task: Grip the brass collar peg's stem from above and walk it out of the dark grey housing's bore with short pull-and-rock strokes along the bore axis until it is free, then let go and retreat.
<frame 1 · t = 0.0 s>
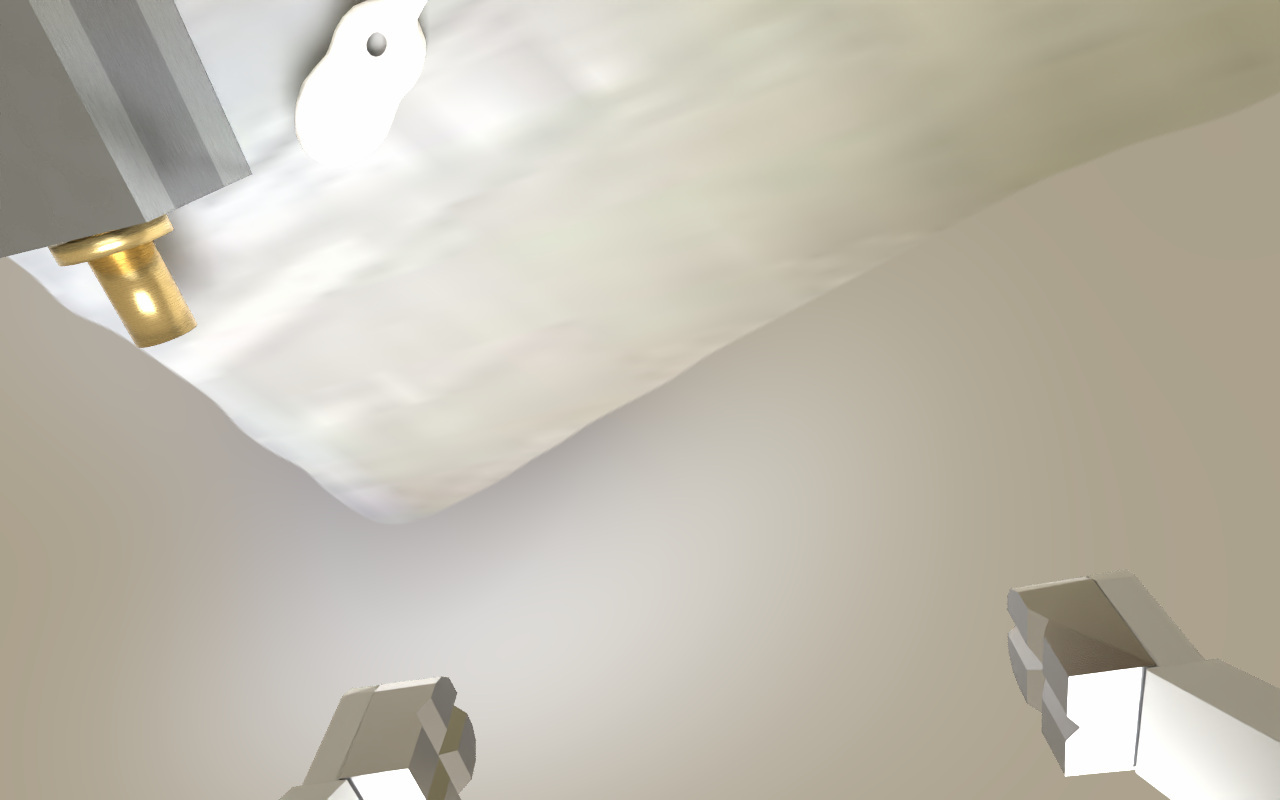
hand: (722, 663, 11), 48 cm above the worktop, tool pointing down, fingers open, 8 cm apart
housing: (121, 110, 54), on the worktop
brass collar peg: (108, 230, 51), point 7 cm above the worktop, slide at 0.0 cm
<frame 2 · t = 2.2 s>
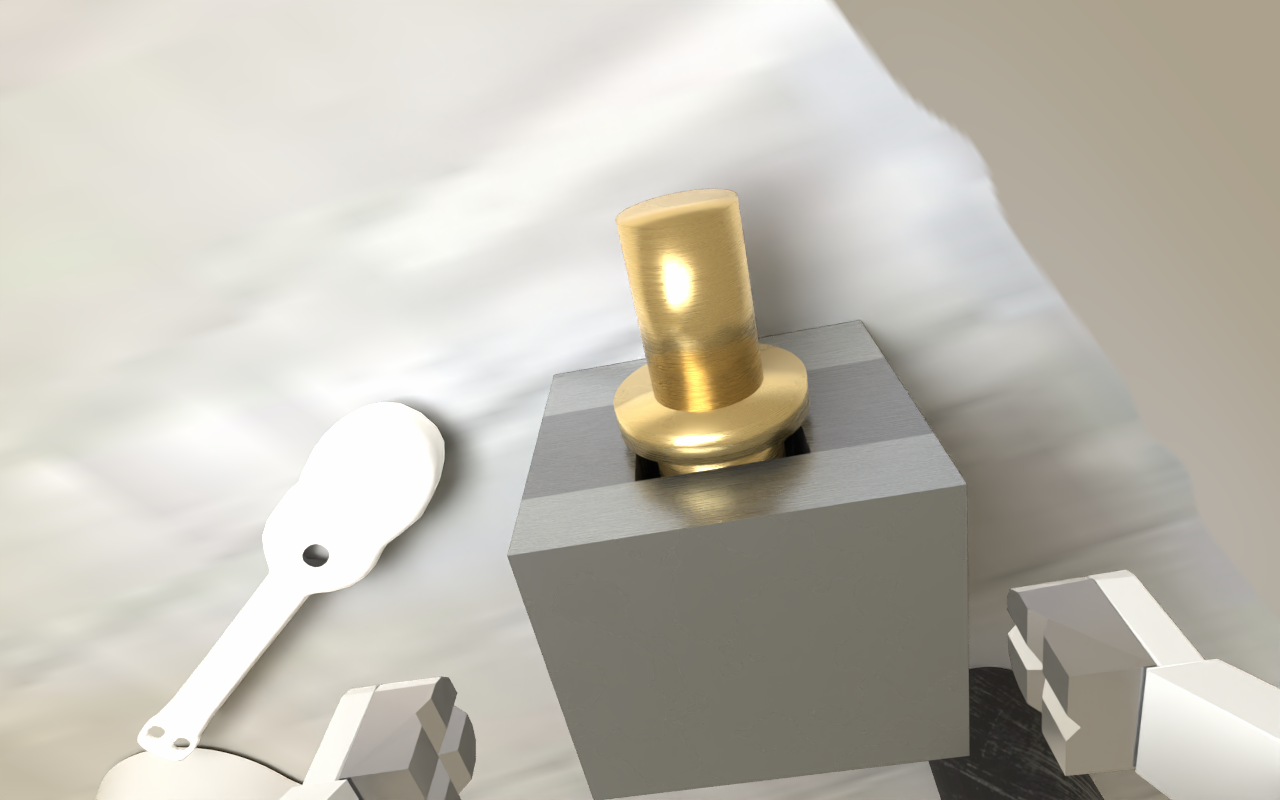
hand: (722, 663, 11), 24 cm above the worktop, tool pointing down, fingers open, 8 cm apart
spatula: (290, 576, 42), on the worktop
housing: (723, 459, 38), on the worktop
travel mug: (975, 707, 46), on the worktop
brass collar peg: (712, 410, 28), point 7 cm above the worktop, slide at 0.0 cm
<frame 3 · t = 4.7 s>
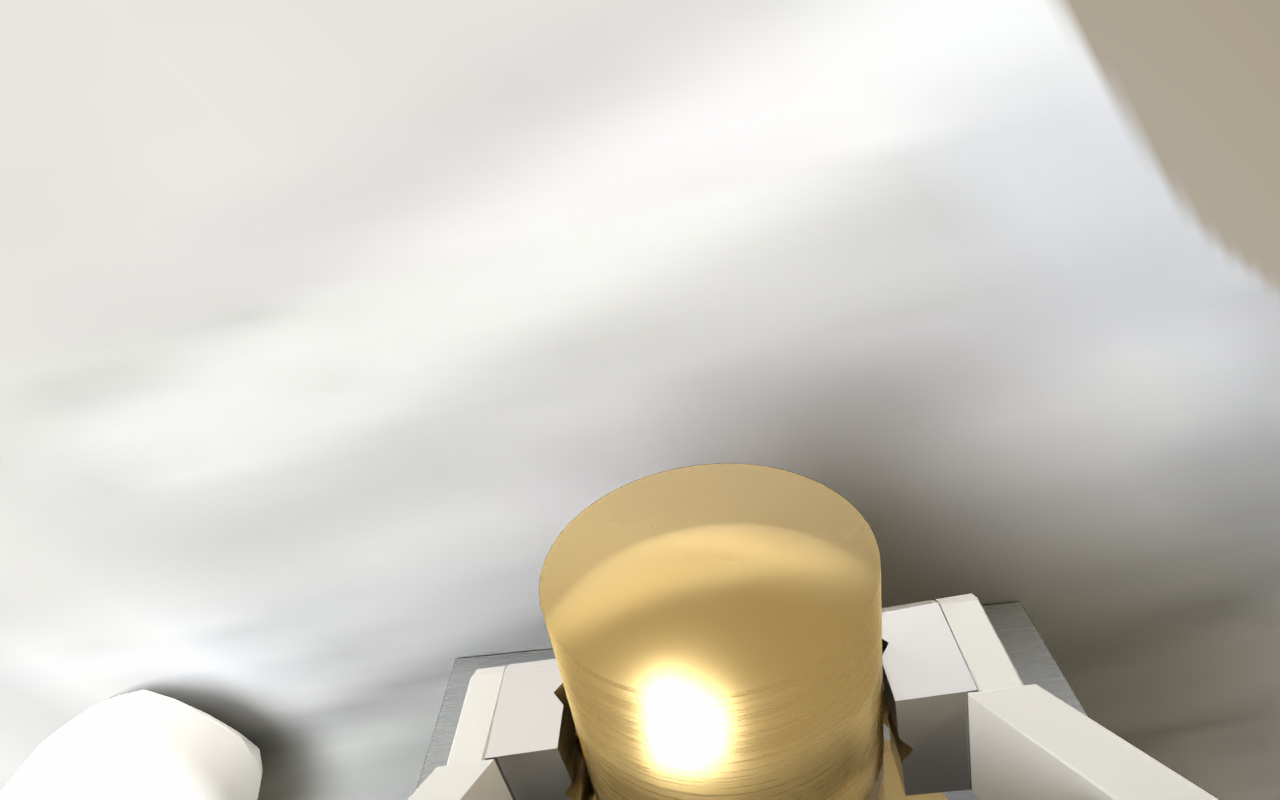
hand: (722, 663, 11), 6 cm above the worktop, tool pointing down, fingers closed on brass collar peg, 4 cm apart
housing: (750, 786, 22), on the worktop
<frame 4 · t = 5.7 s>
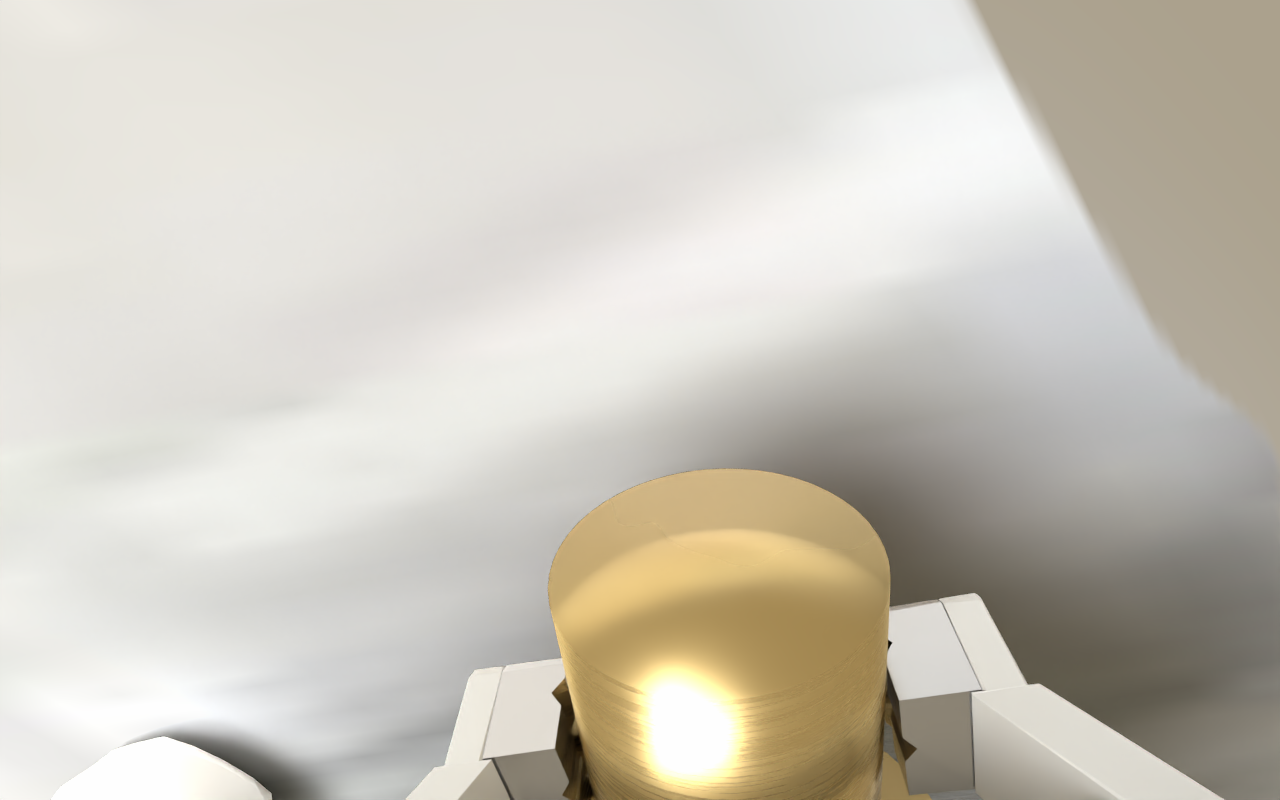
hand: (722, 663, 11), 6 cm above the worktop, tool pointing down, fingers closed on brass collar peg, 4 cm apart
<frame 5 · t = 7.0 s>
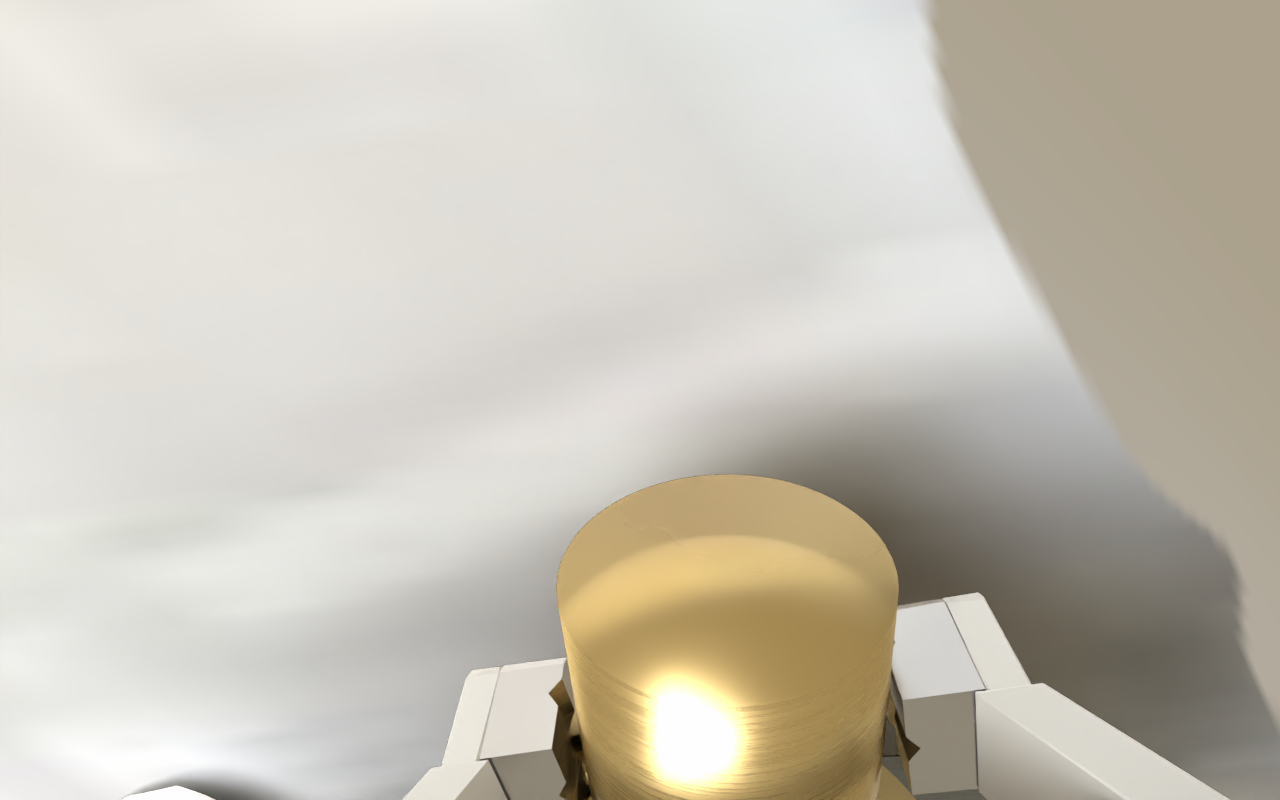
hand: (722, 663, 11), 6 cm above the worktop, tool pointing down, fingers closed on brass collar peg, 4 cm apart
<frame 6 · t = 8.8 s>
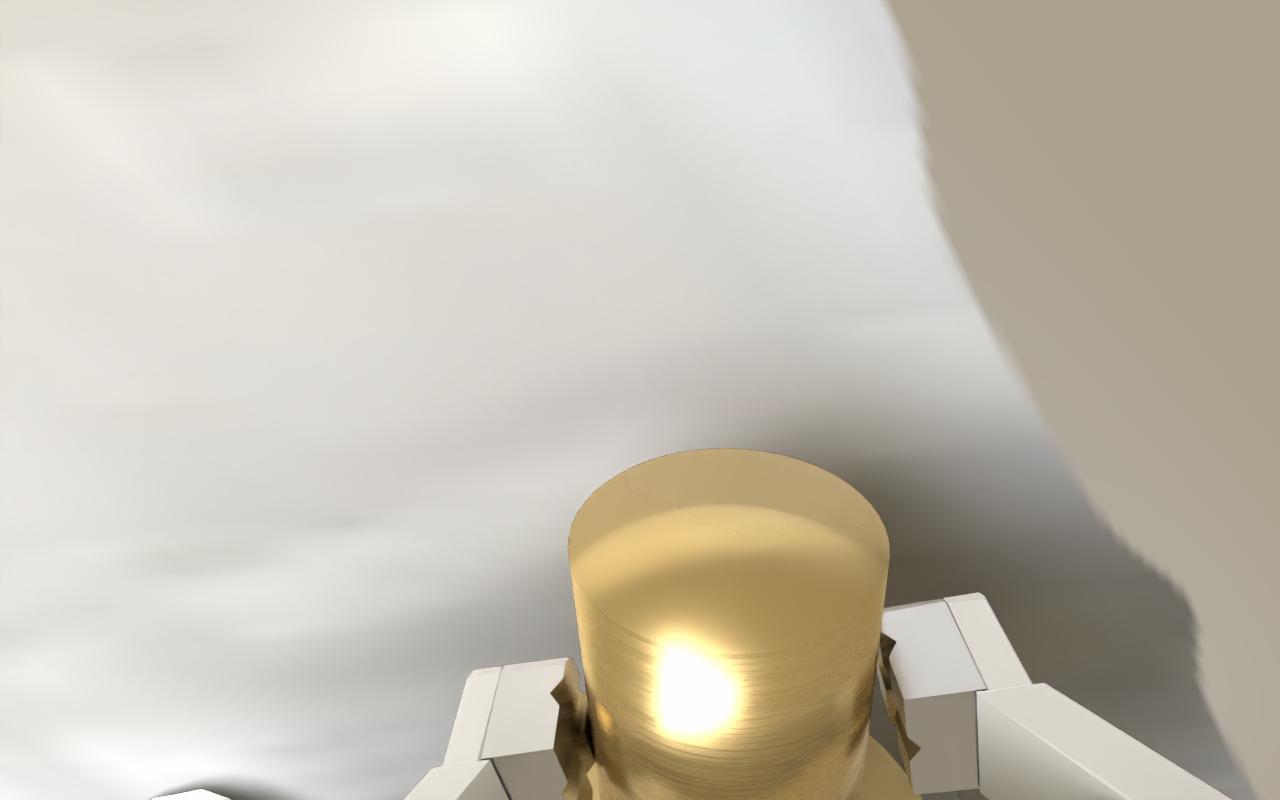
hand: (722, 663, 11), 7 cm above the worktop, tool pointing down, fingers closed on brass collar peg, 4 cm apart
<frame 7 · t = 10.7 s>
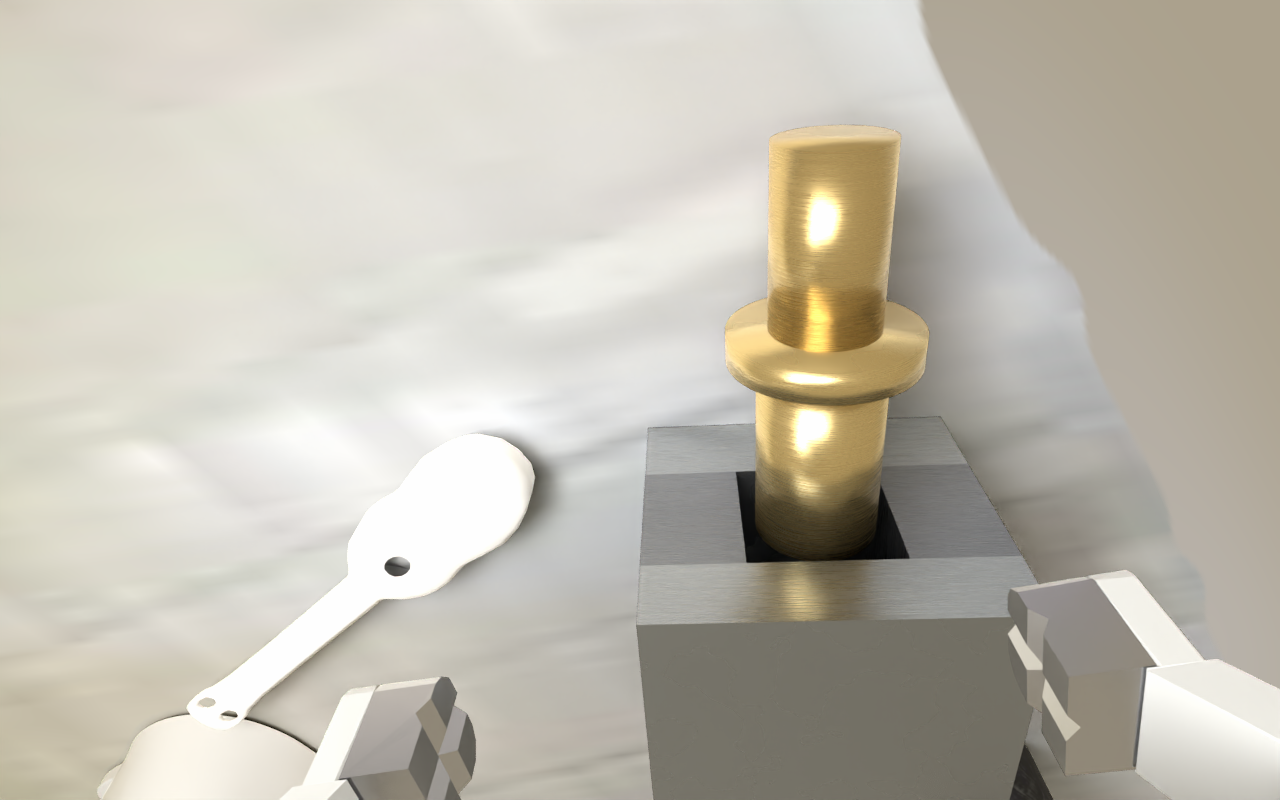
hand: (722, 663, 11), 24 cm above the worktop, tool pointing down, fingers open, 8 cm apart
spatula: (357, 573, 44), on the worktop
housing: (789, 520, 40), on the worktop
travel mug: (971, 762, 49), on the worktop
brass collar peg: (823, 355, 28), point 7 cm above the worktop, slide at 6.4 cm
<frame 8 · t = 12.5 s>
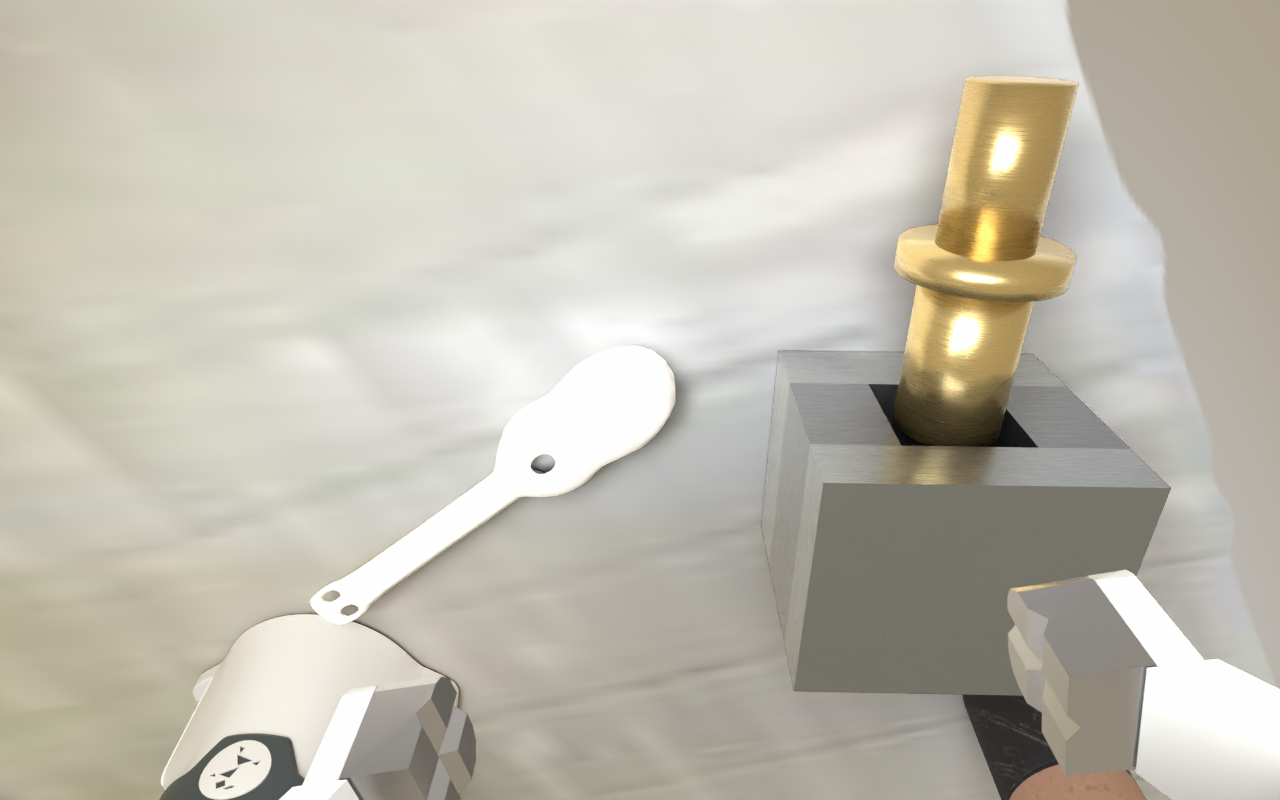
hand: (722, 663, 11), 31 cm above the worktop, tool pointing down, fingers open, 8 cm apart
spatula: (486, 479, 48), on the worktop
housing: (888, 444, 46), on the worktop
travel mug: (1012, 686, 55), on the worktop
brass collar peg: (978, 270, 33), point 7 cm above the worktop, slide at 6.4 cm
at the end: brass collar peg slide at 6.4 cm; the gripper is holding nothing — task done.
